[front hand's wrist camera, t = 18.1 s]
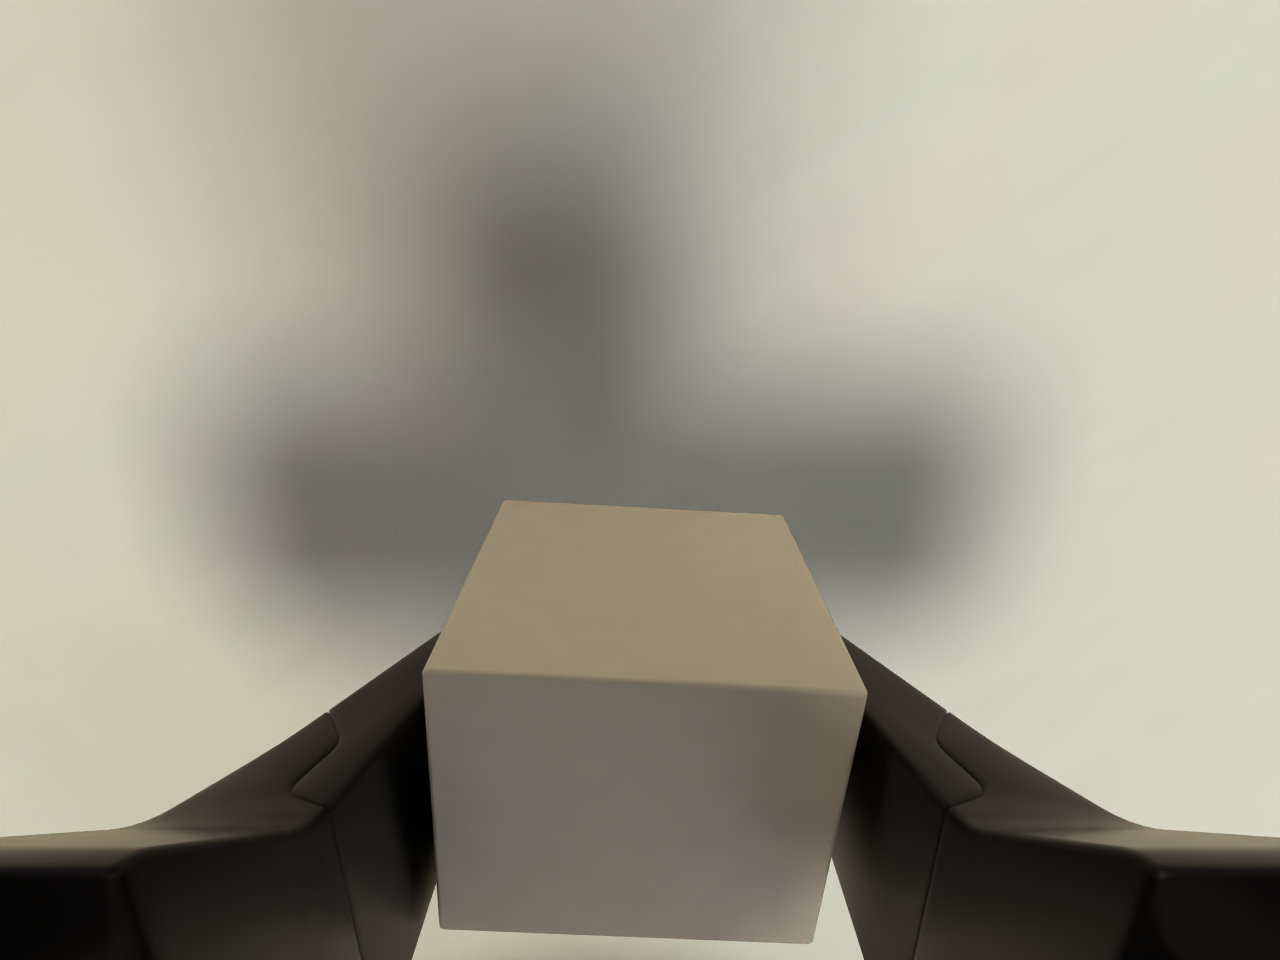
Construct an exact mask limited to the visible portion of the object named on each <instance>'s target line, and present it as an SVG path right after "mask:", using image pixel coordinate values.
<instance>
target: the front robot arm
mask: <svg viewBox="0 0 1280 960" xmlns="http://www.w3.org/2000/svg"><path fill="white" fill-rule="evenodd" d="M440 634H441V632H440V633H438V634H437V635H436V636H434V637H433V638H431V639H430V640H428V641H427V642H426V643H424V644H423V645H421V646H420V647H418V648H417V649H416V650H414V651H413V652H411V653H410V654H408V655H407V656H406V657H404V658H403V659H401V660H400V661H399V662H397V663H396V664H394V665H393V666H391V667H390V668H389V669H387V670H386V671H384V672H383V673H381V674H380V675H379V676H377V677H376V678H374V679H373V680H371V681H370V682H369V683H367V684H366V685H364V686H363V687H362V688H360V689H359V690H357V691H356V692H354V693H353V694H352V695H350V696H349V697H347V698H346V699H344V700H343V701H342V702H340V703H339V704H337V705H336V706H334V707H333V708H332V709H330V710H329V713H324V714H323V715H321V716H320V717H319V718H317V719H316V720H314V721H313V722H311V723H310V724H309V725H307V726H306V727H304V728H303V729H301V730H300V731H298V732H297V733H295V734H294V735H292V736H291V737H289V738H288V739H286V740H285V741H283V742H282V743H280V744H279V745H277V746H275V747H274V748H272V749H271V750H269V751H267V752H266V753H264V754H262V755H261V756H259V757H258V758H256V759H254V760H253V761H251V762H249V763H248V764H246V765H244V766H243V767H241V768H239V769H238V770H236V771H234V772H233V773H231V774H229V775H228V776H226V777H224V778H223V779H221V780H219V781H218V782H216V783H214V784H212V785H211V786H209V787H207V788H206V789H204V790H202V791H201V792H199V793H197V794H196V795H194V796H192V797H191V798H189V799H187V800H186V801H184V802H182V803H181V804H179V805H177V806H175V807H174V808H172V809H170V810H168V811H167V812H165V813H163V814H161V815H159V816H157V817H154V818H152V819H150V820H147V821H145V822H142V823H139V824H136V825H133V826H129V827H124V828H120V829H112V830H99V831H85V832H70V833H55V834H41V835H26V836H12V837H0V960H412V957H413V954H414V951H415V947H416V944H417V941H418V938H419V935H420V932H421V929H422V926H423V923H424V919H425V916H426V913H427V910H428V907H429V904H430V901H431V898H432V894H433V891H434V888H435V885H436V882H437V881H436V867H435V852H434V837H433V822H432V808H431V793H430V778H429V764H428V749H427V734H426V719H425V705H424V690H423V675H422V672H423V669H424V667H425V665H426V663H427V661H428V659H429V657H430V655H431V652H432V650H433V648H434V646H435V644H436V642H437V640H438V638H439V636H440ZM840 636H841V635H840ZM841 638H842V640H843V642H844V644H845V646H846V648H847V650H848V652H849V655H850V657H851V659H852V661H853V663H854V665H855V667H856V669H857V671H858V673H859V675H860V678H861V680H862V682H863V684H864V686H865V688H866V690H867V700H866V704H865V708H864V713H863V717H862V722H861V726H860V731H859V735H858V740H857V744H856V749H855V753H854V758H853V762H852V767H851V771H850V776H849V780H848V785H847V789H846V794H845V798H844V803H843V807H842V812H841V816H840V820H839V825H838V829H837V834H836V838H835V843H834V847H833V852H832V859H833V863H834V866H835V869H836V872H837V875H838V878H839V882H840V885H841V888H842V891H843V894H844V897H845V900H846V904H847V907H848V910H849V913H850V916H851V919H852V923H853V926H854V929H855V932H856V935H857V938H858V941H859V945H860V948H861V951H862V954H863V957H864V960H1280V838H1276V837H1262V836H1247V835H1233V834H1218V833H1204V832H1189V831H1175V830H1162V829H1154V828H1150V827H1145V826H1142V825H1139V824H1135V823H1132V822H1129V821H1127V820H1125V819H1122V818H1120V817H1118V816H1115V815H1113V814H1112V813H1110V812H1108V811H1106V810H1104V809H1103V808H1101V807H1099V806H1097V805H1096V804H1094V803H1092V802H1091V801H1089V800H1087V799H1086V798H1084V797H1082V796H1081V795H1079V794H1077V793H1076V792H1074V791H1072V790H1071V789H1069V788H1067V787H1066V786H1064V785H1062V784H1061V783H1059V782H1057V781H1056V780H1054V779H1052V778H1051V777H1049V776H1047V775H1046V774H1044V773H1042V772H1041V771H1039V770H1037V769H1036V768H1034V767H1032V766H1031V765H1029V764H1027V763H1026V762H1024V761H1022V760H1021V759H1019V758H1018V757H1016V756H1014V755H1013V754H1011V753H1010V752H1008V751H1006V750H1005V749H1003V748H1001V747H1000V746H998V745H997V744H995V743H993V742H992V741H991V740H989V739H988V738H986V737H985V736H983V735H982V734H980V733H979V732H977V731H976V730H974V729H973V728H971V727H970V726H968V725H967V724H965V723H964V722H963V721H961V720H960V719H958V718H957V717H956V716H954V715H953V714H951V713H947V711H946V710H945V709H944V708H943V707H941V706H940V705H938V704H937V703H936V702H934V701H933V700H931V699H930V698H929V697H927V696H926V695H924V694H923V693H922V692H920V691H919V690H917V689H916V688H914V687H913V686H912V685H910V684H909V683H907V682H906V681H905V680H903V679H902V678H900V677H899V676H898V675H896V674H895V673H893V672H892V671H890V670H889V669H888V668H886V667H885V666H883V665H882V664H881V663H879V662H878V661H876V660H875V659H874V658H872V657H871V656H869V655H868V654H866V653H865V652H864V651H862V650H861V649H859V648H858V647H857V646H855V645H854V644H852V643H851V642H850V641H848V640H847V639H845V638H844V637H843V636H841Z"/></svg>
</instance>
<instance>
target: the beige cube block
mask: <svg viewBox="0 0 1280 960" xmlns="http://www.w3.org/2000/svg"><path fill="white" fill-rule="evenodd" d="M422 675H423V690H424V705H425V719H426V734H427V749H428V764H429V778H430V793H431V808H432V822H433V837H434V852H435V867H436V881H437V896H438V911H439V924H440V927H441V928H442V929H452V930H476V931H501V932H526V933H550V934H575V935H600V936H624V937H649V938H674V939H698V940H723V941H748V942H772V943H797V944H809V943H812V941H813V937H814V932H815V928H816V924H817V919H818V915H819V910H820V906H821V901H822V897H823V892H824V888H825V883H826V879H827V874H828V870H829V865H830V861H831V856H832V852H833V847H834V843H835V838H836V834H837V829H838V825H839V820H840V816H841V812H842V807H843V803H844V798H845V794H846V789H847V785H848V780H849V776H850V771H851V767H852V762H853V758H854V753H855V749H856V744H857V740H858V735H859V731H860V726H861V722H862V717H863V713H864V708H865V704H866V700H867V690H866V688H865V686H864V684H863V682H862V680H861V678H860V675H859V673H858V671H857V669H856V667H855V665H854V663H853V661H852V659H851V657H850V655H849V652H848V650H847V648H846V646H845V644H844V642H843V640H842V638H841V636H840V634H839V632H838V629H837V627H836V625H835V623H834V621H833V619H832V617H831V615H830V613H829V611H828V609H827V606H826V604H825V602H824V600H823V598H822V596H821V594H820V592H819V590H818V588H817V586H816V583H815V581H814V579H813V577H812V575H811V573H810V571H809V569H808V567H807V565H806V563H805V561H804V558H803V556H802V554H801V552H800V550H799V548H798V546H797V544H796V542H795V540H794V538H793V535H792V533H791V531H790V529H789V527H788V525H787V523H786V521H785V519H784V517H783V516H782V515H771V514H753V513H735V512H717V511H699V510H681V509H662V508H644V507H626V506H608V505H590V504H571V503H553V502H535V501H517V500H505V501H503V503H502V505H501V507H500V509H499V512H498V514H497V516H496V518H495V520H494V522H493V524H492V526H491V528H490V530H489V533H488V535H487V537H486V539H485V541H484V543H483V545H482V547H481V549H480V552H479V554H478V556H477V558H476V560H475V562H474V564H473V566H472V568H471V570H470V573H469V575H468V577H467V579H466V581H465V583H464V585H463V587H462V589H461V591H460V594H459V596H458V598H457V600H456V602H455V604H454V606H453V608H452V610H451V612H450V615H449V617H448V619H447V621H446V623H445V625H444V627H443V629H442V631H441V634H440V636H439V638H438V640H437V642H436V644H435V646H434V648H433V650H432V652H431V655H430V657H429V659H428V661H427V663H426V665H425V667H424V669H423V672H422Z"/></svg>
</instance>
